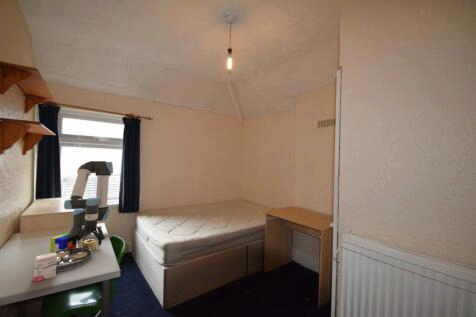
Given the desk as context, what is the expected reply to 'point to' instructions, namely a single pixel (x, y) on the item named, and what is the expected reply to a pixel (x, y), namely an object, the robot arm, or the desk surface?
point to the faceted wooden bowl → (90, 244)
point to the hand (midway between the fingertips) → (89, 249)
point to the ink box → (45, 266)
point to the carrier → (72, 258)
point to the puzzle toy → (63, 242)
